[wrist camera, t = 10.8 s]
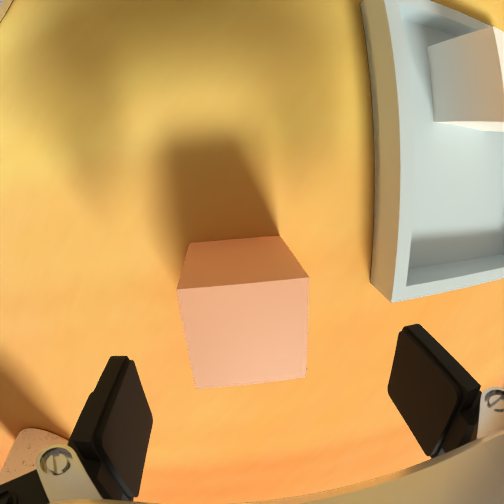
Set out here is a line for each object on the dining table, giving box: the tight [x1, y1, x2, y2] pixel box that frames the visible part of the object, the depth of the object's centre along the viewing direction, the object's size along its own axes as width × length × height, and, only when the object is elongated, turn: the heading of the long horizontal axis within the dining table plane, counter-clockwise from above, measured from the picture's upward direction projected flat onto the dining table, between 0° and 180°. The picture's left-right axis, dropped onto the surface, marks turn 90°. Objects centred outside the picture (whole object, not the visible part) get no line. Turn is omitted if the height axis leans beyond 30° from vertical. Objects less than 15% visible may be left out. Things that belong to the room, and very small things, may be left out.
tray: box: [360, 0, 504, 303], centre depth 14 cm, size 16×12×3 cm
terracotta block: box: [177, 235, 309, 389], centre depth 14 cm, size 4×4×6 cm
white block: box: [427, 26, 504, 132], centre depth 11 cm, size 4×4×6 cm
